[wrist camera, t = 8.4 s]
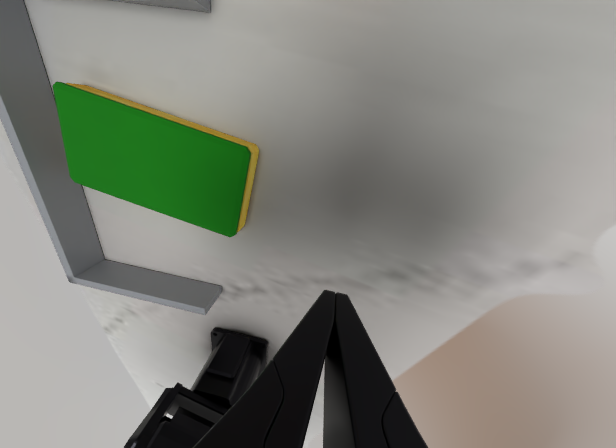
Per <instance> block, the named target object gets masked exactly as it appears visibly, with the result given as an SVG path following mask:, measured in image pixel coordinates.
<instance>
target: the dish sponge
mask: <svg viewBox="0 0 616 448" xmlns="http://www.w3.org/2000/svg"><path fill="white" fill-rule="evenodd" d="M53 90H54V96H55V101H56V106H57V112H58V117H59V122H60V127H61V133H62V138H63V143H64V148H65V154H66V159H67V164H68V169H69V175H70V178H71V179H72V180H73V181H74V182H75V183H78V184H81V185H83V186H86V187H89V188H92V189H95V190H98V191H100V192H103V193H106V194H109V195H112V196H115V197H117V198H120V199H123V200H126V201H129V202H132V203H134V204H137V205H140V206H143V207H146V208H149V209H151V210H154V211H157V212H160V213H163V214H166V215H168V216H171V217H174V218H177V219H180V220H182V221H185V222H188V223H191V224H194V225H197V226H199V227H202V228H205V229H208V230H211V231H214V232H216V233H219V234H222V235H225V236H228V237H232V236H234V235H236V234H237V232H239V231H240V229H241V228H242V227H243V226H244V225H245V221H246V216H247V211H248V206H249V201H250V196H251V190H252V185H253V180H254V175H255V170H256V165H257V160H258V155H259V149H258V147H257V146H256V144H253V143H250V142H248V141H245V140H242V139H239V138H236V137H233V136H230V135H227V134H225V133H222V132H219V131H216V130H213V129H210V128H207V127H204V126H202V125H199V124H196V123H193V122H190V121H187V120H184V119H181V118H179V117H176V116H173V115H170V114H167V113H164V112H161V111H158V110H156V109H153V108H150V107H147V106H144V105H141V104H138V103H135V102H133V101H130V100H127V99H124V98H121V97H118V96H115V95H112V94H110V93H107V92H104V91H101V90H98V89H95V88H92V87H89V86H87V85H79V84H71V83H66V84H65V83H62V82H56V83H55V84H54V85H53Z"/></svg>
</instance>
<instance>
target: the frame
mask: <svg viewBox="0 0 616 448" xmlns="http://www.w3.org/2000/svg"><path fill="white" fill-rule="evenodd" d="M113 1H121V2H129V3H137V4H145V5H154V6H162V7H170V8H178V9H186V10H195V11H203V12H211V10H210V0H113ZM0 119H1V121H2V124H3V126H4V128H5V131H6V133H7V136H8V138H9V140H10V143H11V145H12V147H13V150H14V152H15V155H16V157H17V159H18V162H19V164H20V166H21V169H22V171H23V174H24V176H25V178H26V181H27V183H28V185H29V188H30V190H31V193H32V195H33V197H34V200H35V202H36V204H37V207H38V209H39V212H40V214H41V216H42V219H43V221H44V223H45V226H46V228H47V230H48V233H49V235H50V238H51V240H52V242H53V245H54V247H55V249H56V252H57V254H58V257H59V259H60V261H61V264H62V266H63V268H64V271H65V273H66V275H67V278H68V280H69V282H71V283H75V284H79V285H83V286H87V287H91V288H95V289H99V290H104V291H108V292H112V293H116V294H120V295H124V296H128V297H132V298H137V299H141V300H145V301H149V302H153V303H157V304H161V305H165V306H170V307H174V308H178V309H182V310H186V311H190V312H194V313H199V314H203V315H206V313H207V312H208V311H209V309H210V308H211V306H212V305H213V304H214V302H215V301H216V300H217V298H218V297H219V295H220V294H221V293H222V286H218V285H214V284H210V283H205V282H201V281H197V280H192V279H188V278H183V277H179V276H175V275H170V274H166V273H162V272H157V271H153V270H149V269H144V268H140V267H136V266H131V265H127V264H122V263H118V262H114V261H109V260H105V259H104V255H103V252H102V249H101V246H100V243H99V239H98V236H97V233H96V230H95V227H94V224H93V220H92V217H91V214H90V211H89V208H88V204H87V201H86V198H85V195H84V192H83V189H82V185H81V184H78V183H75V182H74V181H73V180H72V179H71V178H70V175H69V169H68V164H67V159H66V154H65V148H64V143H63V138H62V133H61V127H60V122H59V117H58V112H57V106H56V103H55V100H54V96H53V93H52V90H51V87H50V84H49V80H48V77H47V74H46V71H45V68H44V65H43V61H42V58H41V55H40V52H39V49H38V45H37V42H36V39H35V36H34V33H33V30H32V26H31V23H30V20H29V17H28V14H27V11H26V7H25V4H24V1H23V0H0Z"/></svg>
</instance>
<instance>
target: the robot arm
mask: <svg viewBox="0 0 616 448" xmlns="http://www.w3.org/2000/svg"><path fill="white" fill-rule="evenodd" d="M211 341H212V353H211V355H210V357H209V358H208V360H207V362H206V364H205V365H204V367H203V369H202V371H201V372H200V374H199V376H198V377H197V379H196V381H195V383H194V384H193V386H192V388H191V389H190V390H189V389H187V388H185V387H183V386H182V384H180V383H177V384H176V385H175V387H174V388H166V389H165V390H164V392H163V393H162V395H161V396H160V398H159V399H158V401H157V402H156V404H155V405H154V407H153V408H152V409H151V411H150V412H149V413H148V415H147V416H146V417H145V419H144V420H143V421H142V423H141V424H140V425H139V427H138V428H137V429H136V431H135V432H134V433H133V435H132V436H131V437H130V439H129V440H128V442H127V443H126V445H125V446H124V448H303V444H304V440H305V436H306V432H307V428H308V424H309V420H310V416H311V412H312V408H313V404H314V400H315V396H316V392H317V388H318V384H319V380H320V376H321V372H322V368H323V364H324V360H325V376H324V427H323V448H428V446H427V445H426V443H425V441H424V440H423V438H422V436H421V435H420V433H419V431H418V429H417V428H416V426H415V424H414V422H413V420H412V418H411V417H410V415H409V413H408V411H407V409H406V407H405V406H404V404H403V402H402V399H401V398H400V396H399V394H398V392H395V391H396V388H395V386H394V384H393V382H392V380H391V378H390V376H389V374H388V372H387V371H386V369H385V367H384V365H383V363H382V361H381V359H380V357H379V355H378V353H377V351H376V349H375V347H374V345H373V343H372V341H371V339H370V338H369V336H368V334H367V332H366V330H365V328H364V326H363V324H362V322H361V320H360V318H359V316H358V314H357V312H356V310H355V308H354V306H353V305H352V303H351V301H350V299H349V297H348V295H346V294H342V293H336V294H335V292H333V291H329V290H324V291H323V292H322V294H321V295H320V296H319V298H318V299H317V300H316V301H315V303H314V304H313V305H312V307H311V308H310V309H309V311H308V312H307V313H306V315H305V316H304V317H303V319H302V320H301V321H300V323H299V324H298V325H297V327H296V328H295V329H294V331H293V332H292V333H291V335H290V336H289V337H288V339H287V340H286V341H285V343H284V344H283V345H282V347H281V348H280V349H279V351H278V352H277V353H276V355H275V356H274V357H273V360H271V361H270V362H269V364H268V365H267V366H266V363H267V352H268V342H267V341H266V340H262V339H258V338H254V337H250V336H246V335H242V334H238V333H234V332H230V331H226V330H222V329H218V328H214V329H213V330H212V332H211ZM167 413H168V414H170V415H172V416H173V418H172V419H170V418H168V417H166V414H167Z"/></svg>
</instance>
